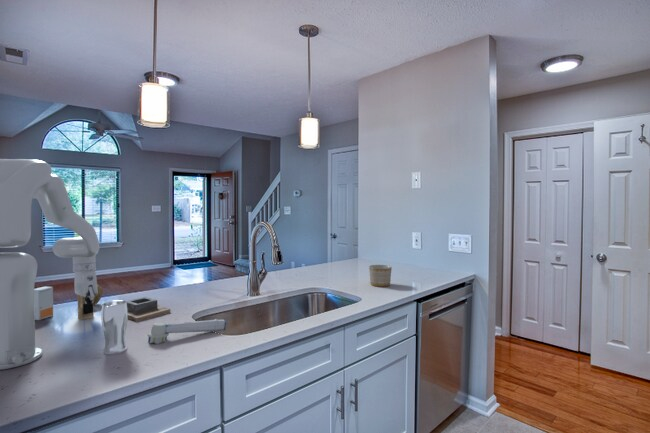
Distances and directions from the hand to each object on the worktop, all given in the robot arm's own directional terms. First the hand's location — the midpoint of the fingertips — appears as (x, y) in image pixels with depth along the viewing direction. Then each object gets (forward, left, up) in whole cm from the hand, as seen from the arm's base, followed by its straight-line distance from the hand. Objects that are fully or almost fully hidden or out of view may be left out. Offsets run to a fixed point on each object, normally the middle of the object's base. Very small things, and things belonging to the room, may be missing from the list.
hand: (85, 311), depth 138 cm
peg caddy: (-12, -16, -2) cm, 20 cm away
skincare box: (+14, +10, -2) cm, 17 cm away
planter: (-73, -119, -3) cm, 140 cm away
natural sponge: (+16, -8, -2) cm, 18 cm away
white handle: (-51, -12, -3) cm, 52 cm away
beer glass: (-43, +8, -2) cm, 44 cm away
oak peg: (0, 0, -2) cm, 2 cm away
